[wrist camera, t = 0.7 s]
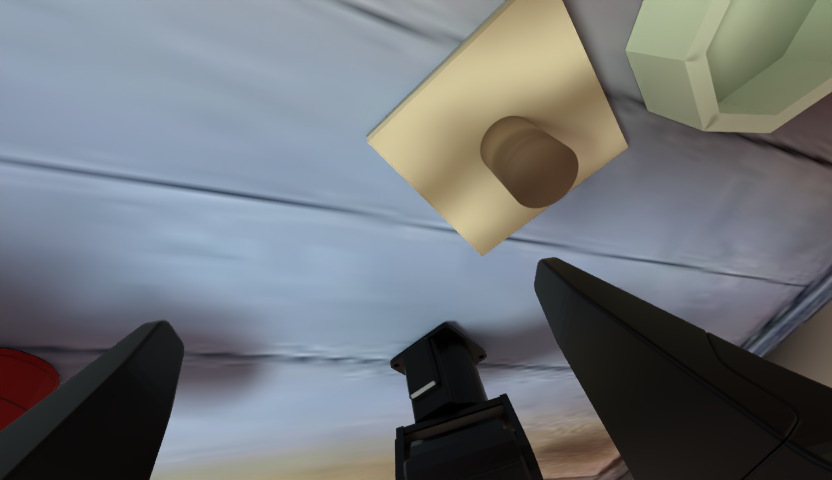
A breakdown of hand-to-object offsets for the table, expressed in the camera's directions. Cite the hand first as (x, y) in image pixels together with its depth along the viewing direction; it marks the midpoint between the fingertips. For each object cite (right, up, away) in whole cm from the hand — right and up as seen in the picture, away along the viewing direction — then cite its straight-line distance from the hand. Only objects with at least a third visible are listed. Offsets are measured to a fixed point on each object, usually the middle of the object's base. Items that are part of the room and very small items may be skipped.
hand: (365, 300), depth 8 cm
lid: (+6, +7, +11) cm, 15 cm away
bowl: (+18, +14, +10) cm, 25 cm away
